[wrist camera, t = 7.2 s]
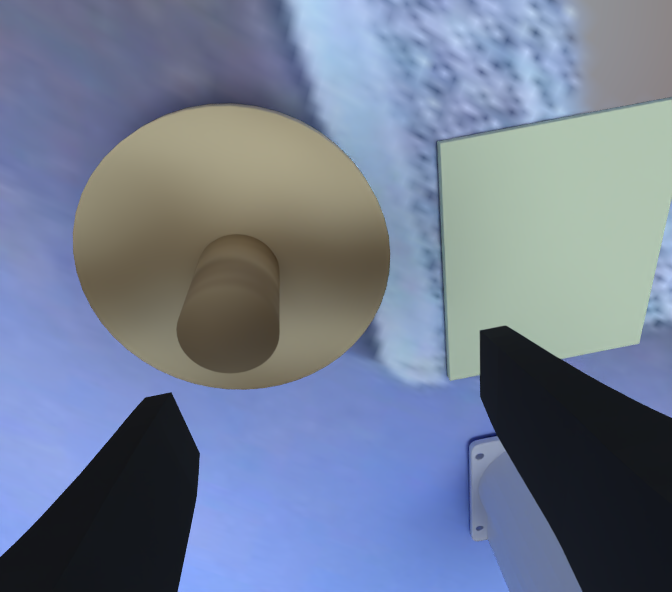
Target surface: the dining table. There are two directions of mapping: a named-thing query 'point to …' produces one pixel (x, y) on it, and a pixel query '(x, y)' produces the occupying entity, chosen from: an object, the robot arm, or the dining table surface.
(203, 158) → the lid
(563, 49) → the dining table surface
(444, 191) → the mat
